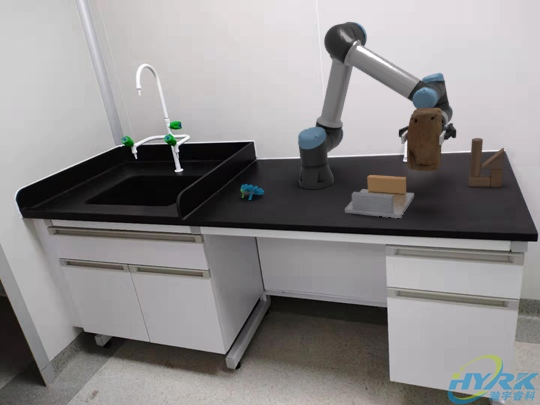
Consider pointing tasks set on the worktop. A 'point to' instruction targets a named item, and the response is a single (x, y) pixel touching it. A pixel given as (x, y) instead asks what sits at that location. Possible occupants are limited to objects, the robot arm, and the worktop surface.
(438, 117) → the block
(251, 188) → the blue bumpy figure
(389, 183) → the block
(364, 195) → the base
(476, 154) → the wooden block structure
